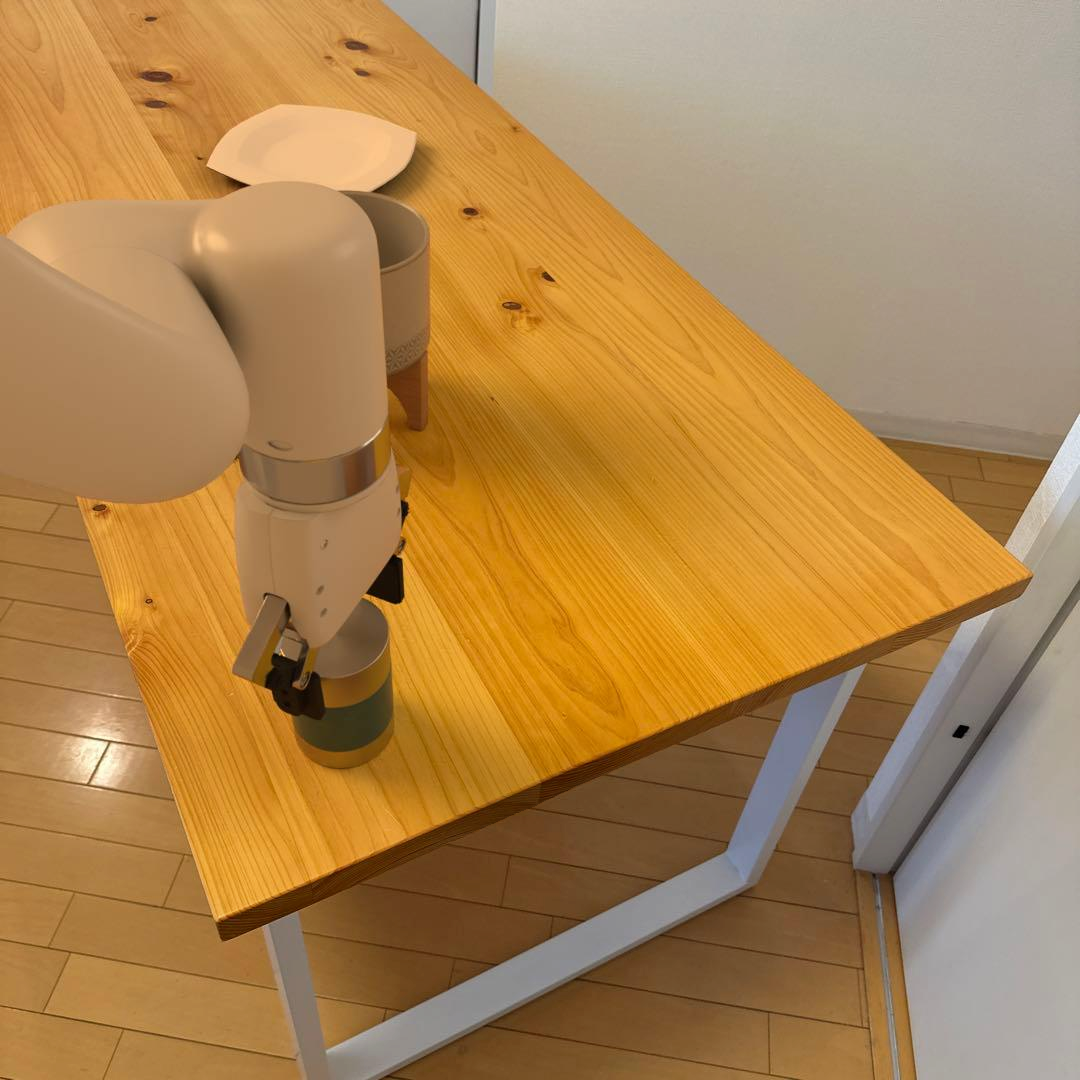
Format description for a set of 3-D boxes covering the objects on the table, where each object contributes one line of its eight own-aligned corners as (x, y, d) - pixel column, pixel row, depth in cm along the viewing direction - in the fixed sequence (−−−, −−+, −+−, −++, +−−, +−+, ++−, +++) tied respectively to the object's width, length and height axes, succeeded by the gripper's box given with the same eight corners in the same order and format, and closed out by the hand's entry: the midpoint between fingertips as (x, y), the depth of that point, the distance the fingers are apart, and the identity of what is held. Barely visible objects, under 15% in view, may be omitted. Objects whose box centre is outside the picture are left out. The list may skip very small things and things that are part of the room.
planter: (326, 352, 97) (309, 177, 84) (451, 386, 95) (454, 211, 82) (259, 432, 88) (229, 250, 75) (395, 471, 86) (389, 290, 73)
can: (275, 746, 67) (255, 654, 59) (327, 672, 71) (315, 578, 64) (363, 784, 65) (354, 694, 58) (411, 706, 70) (409, 614, 62)
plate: (182, 185, 117) (179, 169, 116) (275, 108, 133) (273, 93, 131) (366, 227, 114) (365, 210, 112) (439, 143, 129) (439, 128, 128)
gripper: (337, 328, 56) (359, 538, 69) (139, 528, 45) (207, 736, 58) (458, 366, 55) (458, 574, 67) (283, 582, 43) (322, 785, 56)
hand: (342, 648), depth 62 cm, fingers open, 9 cm apart
